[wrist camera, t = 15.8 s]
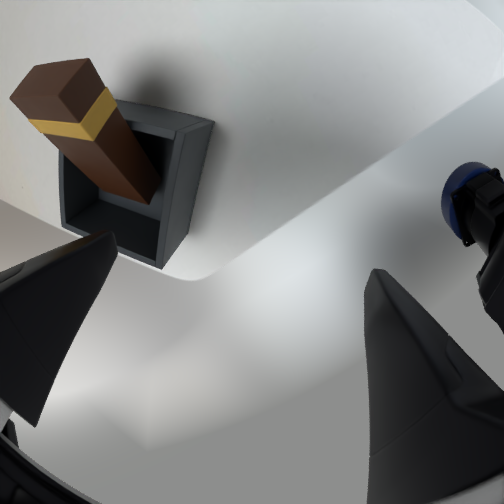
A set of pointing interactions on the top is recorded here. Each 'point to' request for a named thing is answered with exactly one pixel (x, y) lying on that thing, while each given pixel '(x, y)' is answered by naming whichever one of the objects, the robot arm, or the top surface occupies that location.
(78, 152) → the chocolate bar
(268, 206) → the top surface
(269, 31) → the top surface
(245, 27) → the top surface
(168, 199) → the waste bin
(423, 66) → the top surface
